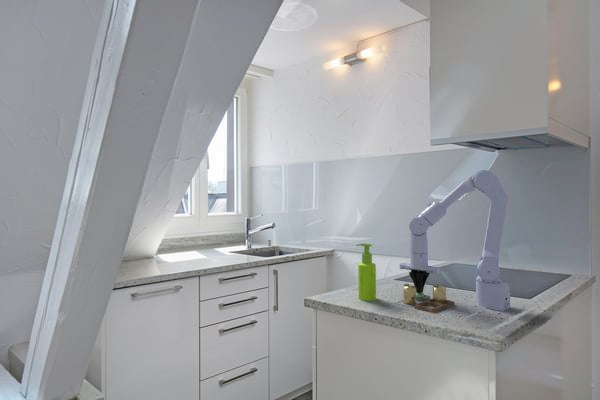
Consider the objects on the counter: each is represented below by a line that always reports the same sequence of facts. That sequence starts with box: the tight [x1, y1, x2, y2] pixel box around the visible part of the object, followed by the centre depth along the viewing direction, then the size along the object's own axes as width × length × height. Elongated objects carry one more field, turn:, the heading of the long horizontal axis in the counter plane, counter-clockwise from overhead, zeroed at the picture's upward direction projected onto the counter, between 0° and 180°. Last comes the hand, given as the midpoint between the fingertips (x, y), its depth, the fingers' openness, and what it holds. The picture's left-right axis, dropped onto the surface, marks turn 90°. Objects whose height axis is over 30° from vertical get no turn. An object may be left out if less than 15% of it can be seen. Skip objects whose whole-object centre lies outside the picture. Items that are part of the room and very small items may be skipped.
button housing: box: [416, 294, 431, 303], centre depth 134 cm, size 5×5×2 cm
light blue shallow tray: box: [393, 299, 421, 308], centre depth 128 cm, size 7×8×1 cm
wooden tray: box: [413, 298, 455, 314], centre depth 124 cm, size 8×13×2 cm, turn 131°
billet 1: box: [402, 283, 417, 306], centre depth 128 cm, size 4×4×7 cm
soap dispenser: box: [355, 243, 377, 302], centre depth 135 cm, size 6×7×20 cm
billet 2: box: [432, 283, 447, 304], centre depth 126 cm, size 4×4×7 cm
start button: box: [416, 292, 425, 298], centre depth 134 cm, size 3×3×3 cm
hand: (419, 292), depth 133 cm, fingers closed
